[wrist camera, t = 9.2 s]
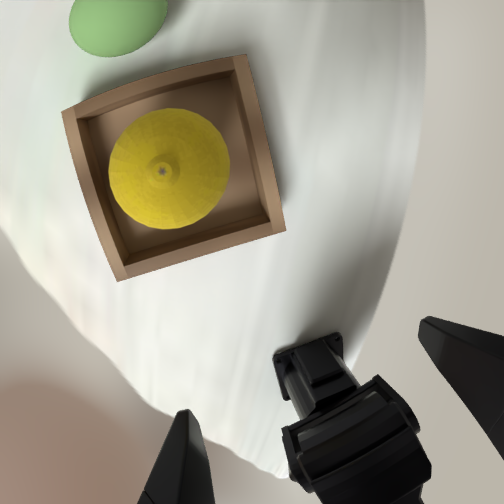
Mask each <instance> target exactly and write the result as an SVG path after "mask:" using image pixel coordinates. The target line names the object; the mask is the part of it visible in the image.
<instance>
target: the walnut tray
mask: <svg viewBox="0 0 504 504" xmlns="http://www.w3.org/2000/svg"><path fill="white" fill-rule="evenodd" d="M166 108H176V109H185V110H188V111H191V112H194V113H197V114H199V115H200V116H202V117H203V118H205V119H207V120H208V121H210V122H211V123H212V124H213V126H214V127H215V128H216V129H217V130H218V131H219V132H220V134H221V136H222V138H223V140H224V142H225V144H226V146H227V149H228V154H229V159H230V174H229V179H228V183H227V186H226V189H225V192H224V193H223V195H222V197H221V198H220V200H219V202H218V203H217V205H216V206H215V207H214V208H213V209H212V210H211V211H210V212H209V213H208V214H207V215H206V216H204V217H203V218H201V219H200V220H198V221H196V222H195V223H193V224H190V225H187V226H184V227H181V228H175V229H158V228H153V227H148V226H146V225H144V224H142V223H139V222H137V221H135V220H134V219H133V218H132V217H130V216H129V215H128V214H127V213H125V212H124V210H123V209H122V208H121V206H120V205H119V204H118V202H117V201H116V199H115V197H114V194H113V192H112V189H111V187H110V180H109V172H108V171H109V163H110V156H111V153H112V151H113V148H114V146H115V143H116V141H117V140H118V138H119V137H120V135H121V134H122V133H123V131H124V130H125V129H126V128H127V127H128V126H129V125H130V124H131V123H133V122H134V121H135V120H136V119H137V118H139V117H141V116H143V115H145V114H147V113H149V112H152V111H156V110H161V109H166ZM61 113H62V118H63V123H64V127H65V131H66V136H67V140H68V144H69V148H70V152H71V155H72V159H73V163H74V166H75V170H76V173H77V176H78V180H79V183H80V186H81V189H82V192H83V196H84V199H85V202H86V205H87V207H88V210H89V213H90V216H91V219H92V222H93V224H94V227H95V230H96V232H97V235H98V238H99V240H100V243H101V245H102V248H103V250H104V253H105V255H106V257H107V260H108V262H109V265H110V267H111V269H112V271H113V274H114V276H115V278H116V281H117V282H119V281H122V280H126V279H129V278H132V277H135V276H138V275H142V274H145V273H148V272H151V271H155V270H158V269H161V268H164V267H168V266H171V265H174V264H177V263H181V262H184V261H187V260H190V259H194V258H197V257H200V256H203V255H207V254H210V253H213V252H217V251H220V250H223V249H227V248H230V247H233V246H237V245H240V244H243V243H247V242H250V241H253V240H257V239H260V238H263V237H267V236H270V235H273V234H277V233H280V232H284V231H286V226H285V221H284V216H283V211H282V206H281V201H280V196H279V192H278V187H277V182H276V177H275V173H274V168H273V163H272V159H271V154H270V150H269V145H268V141H267V137H266V132H265V128H264V124H263V119H262V115H261V111H260V107H259V102H258V98H257V94H256V90H255V86H254V82H253V78H252V74H251V70H250V66H249V63H248V59H247V55H246V54H244V55H238V56H232V57H226V58H221V59H215V60H210V61H206V62H201V63H197V64H192V65H188V66H184V67H180V68H177V69H173V70H169V71H166V72H162V73H159V74H155V75H152V76H149V77H146V78H143V79H140V80H137V81H134V82H131V83H128V84H125V85H122V86H120V87H117V88H114V89H112V90H109V91H107V92H104V93H102V94H99V95H97V96H94V97H92V98H90V99H87V100H85V101H83V102H81V103H79V104H76V105H74V106H72V107H70V108H68V109H66V110H64V111H62V112H61Z"/></svg>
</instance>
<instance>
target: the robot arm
mask: <svg viewBox="0 0 504 504" xmlns="http://www.w3.org/2000/svg"><path fill="white" fill-rule="evenodd" d="M418 338H419V341H420V342H421V344H422V346H423V347H424V348H425V350H426V352H427V353H428V355H429V356H430V358H431V360H432V361H433V363H434V364H435V366H436V367H437V369H438V370H439V371H440V373H441V374H442V375H443V376H444V378H445V379H446V380H447V382H448V383H449V384H450V385H451V387H452V388H453V389H454V391H455V392H456V393H457V394H458V396H459V397H460V398H461V400H462V401H463V402H464V404H465V405H466V407H467V408H468V409H469V410H470V412H471V413H472V415H473V416H474V417H475V419H476V420H477V422H478V423H479V424H480V426H481V427H482V429H483V430H484V431H485V433H486V434H487V436H488V437H489V439H490V440H491V442H492V443H493V445H494V446H495V448H496V449H497V451H498V452H499V454H500V455H501V457H502V459H503V460H504V336H502V335H498V334H494V333H491V332H487V331H483V330H479V329H476V328H472V327H468V326H465V325H461V324H458V323H454V322H450V321H446V320H443V319H439V318H435V317H432V316H427V317H425V318H424V319H422V320H421V321H420V325H419V332H418ZM278 359H280V360H278ZM277 360H278V361H277ZM272 361H273V364H274V368H275V372H276V376H277V379H278V383H279V387H280V390H281V394H282V397H283V399H284V400H285V401H288V400H291V401H292V403H293V405H294V407H295V409H296V412H297V414H298V416H299V418H300V421H298V422H296V423H294V424H292V425H289V426H288V425H287V426H285V427H283V428H281V429H282V433H283V436H282V441H283V444H284V447H285V451H286V455H287V459H288V467H289V477H290V479H291V480H292V481H294V482H297V483H299V484H300V485H301V486H302V487H303V488H304V490H305V491H306V492H308V493H312V492H315V493H316V494H317V496H318V498H319V499H320V501H321V502H322V504H424V503H423V501H422V499H421V492H422V488H423V484H424V483H425V482H427V481H428V480H429V479H430V478H431V467H432V466H431V463H430V461H429V459H428V458H427V455H426V453H425V451H424V449H423V447H422V445H421V443H420V441H419V440H418V437H417V435H416V434H417V433H419V432H420V426H419V423H418V420H417V418H416V416H415V415H414V413H413V411H412V409H411V408H410V407H409V405H408V404H407V403H406V402H405V400H404V399H403V398H402V397H401V396H400V395H399V394H398V393H397V392H396V391H395V390H394V389H393V388H392V387H391V386H390V385H389V384H388V383H387V382H386V381H384V380H383V379H382V378H381V377H380V376H379V375H378V374H377V375H376V376H374V377H373V378H372V380H370V381H368V382H367V383H365V384H364V385H362V386H360V384H359V383H358V381H357V380H356V379H355V377H354V376H353V374H352V373H351V371H350V370H349V369H348V367H347V366H346V364H345V363H344V362H343V339H342V335H341V334H340V333H339V332H336V333H333V334H331V335H328V336H326V337H323V338H321V339H318V340H315V341H313V342H310V343H308V344H305V345H302V346H299V347H297V348H294V349H291V350H288V351H286V352H283V353H280V354H277V355H275V356H274V357H273V358H272ZM144 490H145V491H143V492H142V494H141V496H140V498H139V501H138V503H137V504H215V499H214V492H213V486H212V479H211V472H210V466H209V460H208V456H207V452H206V449H205V445H204V441H203V437H202V433H201V429H200V425H199V423H198V421H197V419H196V418H195V416H194V415H193V413H192V412H191V411H190V410H189V409H185V410H180V411H178V412H177V414H176V416H175V418H174V421H173V423H172V425H171V428H170V430H169V432H168V434H167V437H166V439H165V441H164V444H163V446H162V448H161V450H160V453H159V455H158V457H157V460H156V462H155V464H154V467H153V469H152V471H151V474H150V476H149V478H148V481H147V483H146V485H145V487H144Z"/></svg>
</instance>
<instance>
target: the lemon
mask: <svg viewBox="0 0 504 504" xmlns="http://www.w3.org/2000/svg"><path fill="white" fill-rule="evenodd" d="M108 172H109V180H110V187H111V189H112V192H113V194H114V197H115V199H116V201H117V202H118V204H119V205H120V206H121V208H122V209H123V210H124V212H125V213H127V214H128V215H129V216H130V217H132V218H133V219H134V220H135V221H137V222H139V223H142V224H144V225H146V226H148V227H153V228H158V229H175V228H181V227H184V226H187V225H190V224H193V223H195V222H196V221H198V220H200V219H201V218H203V217H204V216H206V215H207V214H208V213H209V212H210V211H211V210H212V209H213V208H214V207H215V206H216V205H217V203H218V202H219V200H220V198H221V197H222V195H223V193H224V192H225V189H226V186H227V183H228V179H229V174H230V159H229V154H228V149H227V146H226V144H225V142H224V140H223V138H222V136H221V134H220V132H219V131H218V130H217V129H216V128H215V127H214V126H213V124H212V123H211V122H210V121H208V120H207V119H205V118H203V117H202V116H200V115H199V114H197V113H194V112H191V111H188V110H185V109H176V108H166V109H161V110H156V111H152V112H149V113H147V114H145V115H143V116H141V117H139V118H137V119H136V120H135V121H134V122H133V123H131V124H130V125H129V126H128V127H127V128H126V129H125V130H124V131H123V133H122V134H121V135H120V137H119V138H118V140H117V141H116V143H115V146H114V148H113V151H112V153H111V156H110V163H109V171H108Z"/></svg>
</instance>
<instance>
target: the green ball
mask: <svg viewBox="0 0 504 504" xmlns="http://www.w3.org/2000/svg"><path fill="white" fill-rule="evenodd" d="M167 5H168V2H167V0H75V2H74V4H73V6H72V9H71V12H70V16H69V29H70V33H71V35H72V38H73V40H74V41H75V43H76V44H77V45H78V46H79V47H80V48H81V49H82V50H84V51H85V52H87V53H89V54H92V55H95V56H100V57H116V56H121V55H125V54H128V53H131V52H133V51H135V50H137V49H139V48H140V47H142V46H144V45H145V44H146V43H147V42H149V41H150V40H151V39H152V38H153V37H154V36H155V34H156V33H157V32H158V31H159V29H160V28H161V26H162V24H163V22H164V20H165V17H166V14H167Z"/></svg>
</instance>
